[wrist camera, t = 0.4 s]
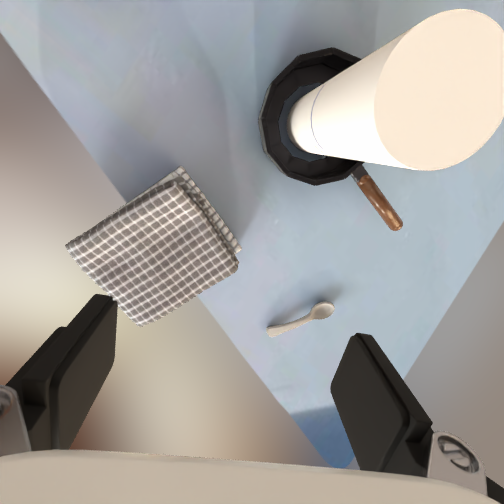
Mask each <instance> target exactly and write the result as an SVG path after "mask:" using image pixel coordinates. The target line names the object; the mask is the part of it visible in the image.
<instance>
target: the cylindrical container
mask: <svg viewBox="0 0 504 504" xmlns="http://www.w3.org/2000/svg"><path fill="white" fill-rule="evenodd" d="M503 117H504V31H503V30H502V28H501V27H500V26H499V24H498V23H496V22H495V21H494V20H492V19H491V18H490V17H489V16H487V15H485V14H482V13H480V12H477V11H475V10H466V9H455V10H449V11H443V12H441V13H438V14H436V15H433V16H431V17H429V18H427V19H425V20H424V21H422V22H421V23H419V24H417V25H416V26H414V27H413V28H411V29H409V30H408V31H406V32H405V33H403V34H402V35H400V36H398V37H397V38H395V39H394V40H392V41H390V42H389V43H387V44H386V45H384V46H383V47H381V48H379V49H378V50H376V51H375V52H373V53H371V54H370V55H368V56H367V57H365V58H363V59H362V60H360V61H359V62H357V63H355V64H354V65H352V66H351V67H349V68H347V69H346V70H344V71H343V72H341V73H339V74H338V75H336V76H335V77H333V78H332V79H330V80H328V81H327V82H325V83H324V84H322V85H320V86H319V87H317V88H316V89H314V90H312V91H311V92H309V93H308V94H306V95H304V96H303V97H301V98H300V99H298V100H297V101H296V102H295V103H294V105H293V106H292V108H291V110H290V112H289V114H288V118H287V133H288V136H289V138H290V140H291V142H292V143H293V144H294V146H296V147H297V148H298V149H300V150H302V151H304V152H308V153H314V154H321V155H327V156H334V157H340V158H346V159H352V160H359V161H365V162H371V163H377V164H384V165H390V166H396V167H402V168H409V169H415V170H426V171H433V170H439V169H445V168H448V167H450V166H453V165H456V164H458V163H460V162H461V161H463V160H465V159H467V158H468V157H470V156H471V155H472V154H474V153H475V152H476V151H477V150H479V149H480V148H481V147H482V146H483V145H484V144H485V143H486V142H487V141H488V140H489V139H490V137H491V136H492V135H493V133H494V132H495V130H496V129H497V128H498V126H499V125H500V123H501V121H502V119H503Z"/></svg>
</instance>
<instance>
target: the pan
mask: <svg viewBox="0 0 504 504" xmlns="http://www.w3.org/2000/svg"><path fill="white" fill-rule="evenodd" d="M360 60H362V59H360V58H357V57H355V56H353V55H350V54H348V53H346V52H343V51H341V50H339V49H336V48H333V47H332V48H327V49H323V50H319V51H314V52H310V53H306V54H302V55H299V56H297V57H296V58H295V59H294V60H293V61H292V62H291V63H290V64H289V65H288V66H287V67H286V68H285V69H284V70H283V71H282V72H281V73H280V74H279V75H278V76H277V77H276V78H275V79H274V80H273V81H272V83H271V84H270V86H269V87H268V89H267V91H266V95H265V98H264V101H263V105H262V108H261V111H260V115H259V118H258V120H259V121H258V124H259V130H260V135H261V141H262V146H263V150H264V152H265V154H266V155H267V156H268V157H269V158H270V159H271V161H272V162H273V163H274V164H275V165H276V167H277V168H278V169H279V170H280V171H281V172H282V173H283V174H285V175H286V176H288V177H290V178H293V179H296V180H299V181H302V182H305V183H308V184H311V185H314V186H315V185H316V186H317V185H321V184H326V183H330V182H335V181H339V180H344V178H345V179H346V178H347V177H348V176H349V175H351V176H352V178H353V179H354V180H355V182H356V183H357V185H358V186H359V188H360V189H361V190H362V192H363V193H364V194H365V196H366V197H367V198H368V200H369V201H370V202H371V204H372V205H373V206H374V208H375V209H376V211H377V212H378V213H379V215H380V216H381V217H382V219H383V220H384V221H385V223H386V224H387V225H388V227H389V228H390V229H391V230H393V231H397V230H400V229H401V228H402V226H403V222H402V220H401V219H400V217H399V216H398V215H397V213H396V212H395V210H394V209H393V208H392V206H391V205H390V203H389V202H388V200H387V199H386V198H385V196H384V195H383V193H382V192H381V191H380V189H379V188H378V186H377V185H376V184H375V182H374V181H373V179H372V178H371V177H370V175H368V173H367V171H366V170H365V169H364V167H363V166H362V164H363V163H364V162H365V161H359V160H352V159H346V158H340V157H334V156H328V157H327V158H324V159H320V160H315V161H311V162H308V161H305V160H302V159H299V158H296V157H294V156H292V155H291V153H290V152H289V151H288V150H287V148H286V147H285V146H284V145H283V143H282V142H281V138H280V132H279V125H278V120H279V117H280V113H281V110H282V107H283V104H284V101H285V100H286V99H287V98H288V97H289V96H290V95H291V94H292V93H293V92H294V91H295V90H297V89H298V88H299V87H300V86H305V85H309V84H313V83H318V82H319V83H321V84H324V83H325V82H327V81H328V80H330V79H332V78H333V77H335V76H336V75H338V74H339V73H341V72H343V71H344V70H346V69H347V68H349V67H351V66H352V65H354V64H355V63H357V62H359V61H360Z"/></svg>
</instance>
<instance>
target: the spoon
mask: <svg viewBox="0 0 504 504" xmlns="http://www.w3.org/2000/svg"><path fill="white" fill-rule="evenodd" d="M334 309H335V308H334V305H333V304H332V303H331V302H327V301H324V302H319V303H317V304H316V305H314V306H313V308H312V309H311V311H310V313H309V314H307V315H306V316H304V317H302V318H300V319H297V320H295V321H292V322H289V323H285V324H281V325H276V326H271V327H267V328H266V331H267V333H268V335H269V336H270V337H274V336H277V335H279V334H281V333H283V332H286V331H289V330H291V329H294V328H296V327H298V326H300V325H302V324H304V323H306V322H308V321H311V320H313V319H325V318H327V317H329V316H331V315H332V314H333V312H334Z"/></svg>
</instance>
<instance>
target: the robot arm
mask: <svg viewBox="0 0 504 504" xmlns="http://www.w3.org/2000/svg"><path fill="white" fill-rule="evenodd" d="M117 307H118V302H117V301H114V300H113V297H112V296H107V295H100V294H95V295H94V296H93V297H92V298H91V299H90V300H89V302H88V303H87V304H86V305H85V306H84V307H83V308H82V310H81V311H80V312H79V313H78V314H77V315H76V317H75V318H74V319H73V320H72V321H71V322H70V323H69V325H68V326H67V327H59V328H58V329H56V330H55V331H54V333H53V334H52V335H51V336H50V337H49V338H48V339H47V340H46V341H45V342H44V343H43V345H42V346H41V347H40V348H39V349H38V350H37V351H36V352H35V353H34V355H33V356H32V357H31V358H30V359H29V360H28V361H27V362H26V363H25V364H24V366H22V368H21V369H20V370H19V371H18V372H17V373H16V374H15V375H14V377H13V378H12V379H11V380H10V381H9V382H8V383H7V384H6V385H5V386H4V385H0V504H504V488H502V487H501V486H499V485H498V484H497V483H495V482H494V481H492V480H491V479H489V478H488V477H487V476H486V473H485V468H484V464H483V462H482V461H481V459H480V457H479V456H478V454H477V453H476V452H475V451H474V450H473V449H472V448H471V447H470V446H469V445H468V444H467V443H466V442H464V441H463V440H462V439H460V438H459V437H457V436H455V435H453V434H451V433H449V432H445V431H437V432H433V430H432V429H431V425H432V421H431V419H430V418H429V417H428V415H427V414H426V412H425V411H424V409H423V408H422V407H421V405H420V404H419V402H418V401H417V399H416V398H415V396H414V395H413V394H412V392H411V391H410V389H409V388H408V386H407V385H406V384H405V383H404V381H403V379H402V378H401V376H400V375H399V374H398V372H397V371H396V369H395V368H394V366H393V365H392V364H391V362H390V361H389V359H388V358H387V356H386V355H385V353H384V352H383V351H382V349H381V348H380V346H379V345H378V343H377V342H376V341H375V339H374V338H373V336H372V335H368V334H361V333H356V334H355V335H354V336H351V338H350V340H349V342H348V344H347V347H346V349H345V352H344V354H343V356H342V359H341V361H340V364H339V366H338V368H337V371H336V373H335V376H334V378H333V380H332V383H331V394H332V397H333V399H334V402H335V405H336V407H337V410H338V412H339V415H340V418H341V420H342V423H343V426H344V428H345V431H346V433H347V436H348V439H349V441H350V444H351V446H352V449H353V452H354V454H355V457H356V460H357V462H358V465H359V467H360V470H349V469H338V468H327V467H314V466H303V465H290V464H278V463H265V462H252V461H239V460H228V459H227V460H226V459H214V458H201V457H187V456H174V455H160V454H146V453H130V452H111V451H94V450H69V448H70V446H71V444H72V443H73V441H74V439H75V437H76V435H77V433H78V431H79V429H80V427H81V425H82V423H83V421H84V420H85V418H86V416H87V414H88V412H89V410H90V408H91V406H92V404H93V402H94V400H95V398H96V397H97V395H98V393H99V391H100V389H101V387H102V385H103V383H104V381H105V379H106V377H107V375H108V374H109V372H110V370H111V368H112V365H113V362H114V357H115V341H116V324H117Z"/></svg>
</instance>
